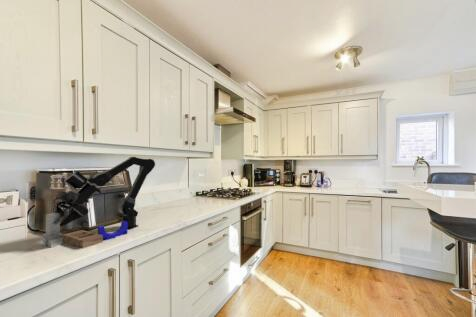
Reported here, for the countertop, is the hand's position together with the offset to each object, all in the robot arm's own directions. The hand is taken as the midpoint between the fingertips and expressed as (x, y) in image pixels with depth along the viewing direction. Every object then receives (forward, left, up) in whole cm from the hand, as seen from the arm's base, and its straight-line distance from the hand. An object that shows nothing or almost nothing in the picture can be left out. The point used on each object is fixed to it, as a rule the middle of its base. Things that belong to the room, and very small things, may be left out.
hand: (54, 224), depth 94 cm
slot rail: (-5, +9, -8) cm, 13 cm away
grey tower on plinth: (+1, 0, -8) cm, 8 cm away
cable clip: (-15, +16, -9) cm, 24 cm away
